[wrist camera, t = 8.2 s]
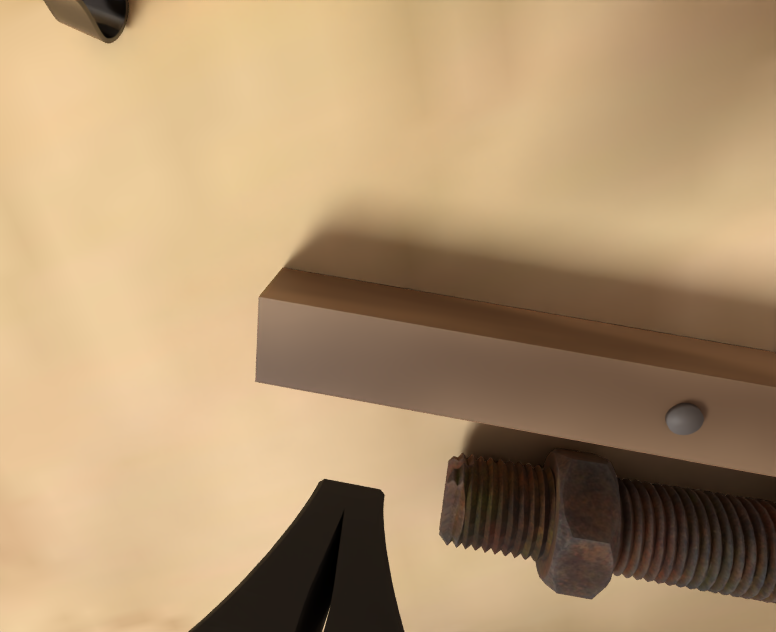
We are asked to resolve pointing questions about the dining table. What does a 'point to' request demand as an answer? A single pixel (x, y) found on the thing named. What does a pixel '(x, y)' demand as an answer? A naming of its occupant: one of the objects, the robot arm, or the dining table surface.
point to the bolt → (610, 526)
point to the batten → (520, 369)
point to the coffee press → (92, 16)
